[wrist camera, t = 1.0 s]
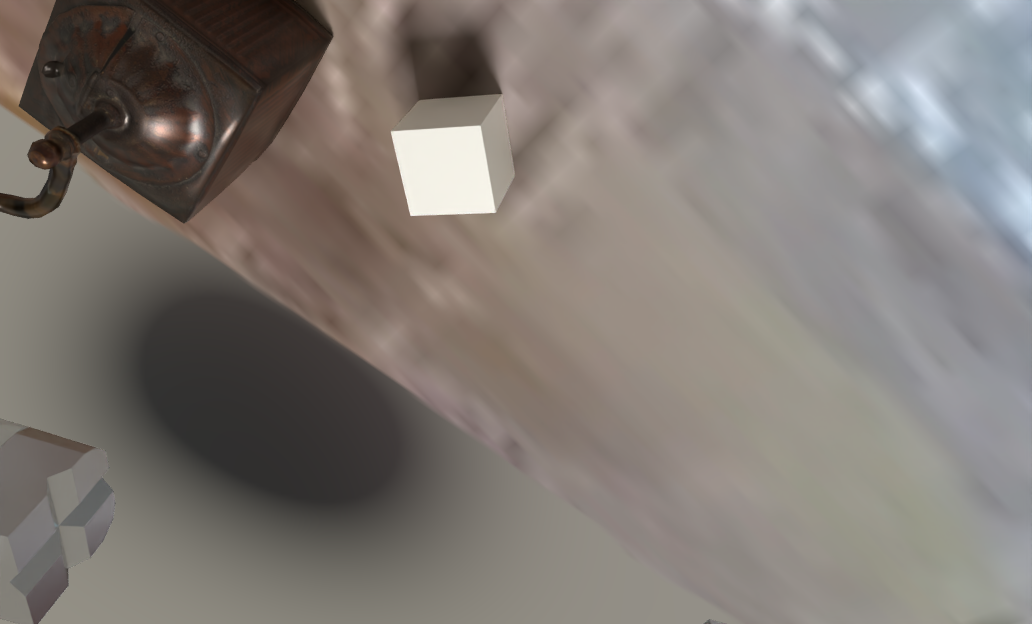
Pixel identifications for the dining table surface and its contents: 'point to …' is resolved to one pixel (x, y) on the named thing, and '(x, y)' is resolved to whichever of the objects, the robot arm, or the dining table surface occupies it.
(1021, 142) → the dining table surface
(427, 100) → the off-white block
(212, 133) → the manual coffee grinder
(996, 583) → the dining table surface
